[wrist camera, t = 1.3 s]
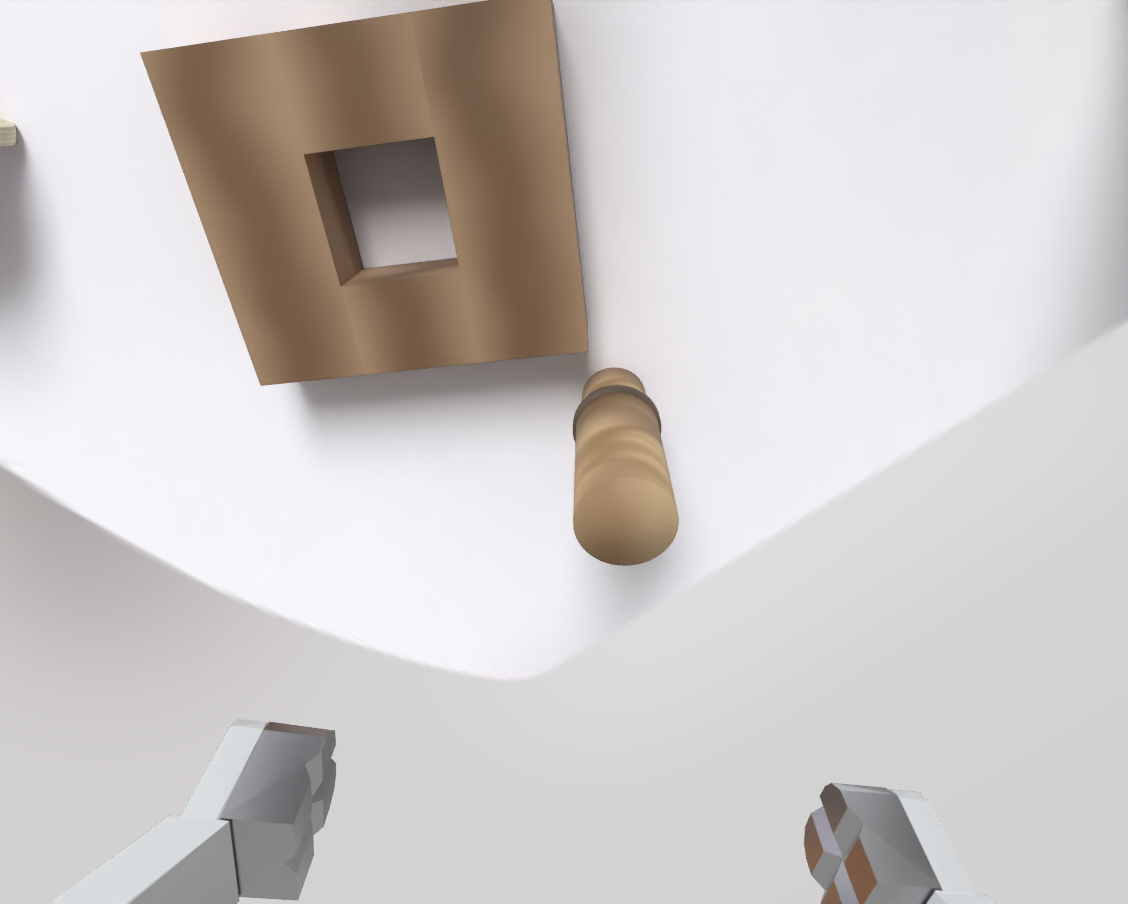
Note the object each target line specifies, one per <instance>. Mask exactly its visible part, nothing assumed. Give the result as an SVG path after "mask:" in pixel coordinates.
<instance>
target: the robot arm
mask: <svg viewBox="0 0 1128 904" xmlns="http://www.w3.org/2000/svg"><path fill="white" fill-rule="evenodd" d="M335 745H336V739H335V731H334V730H327V729H319V728H312V727H305V726H297V725H290V724H282V723H275V722H268V721H259V720H250V719H241V718H237V719H236V720H235V722H234V723H233V724H232V725H231V726H230V727H229V728H228V730H227V732H226V734H225V735H224V737H223V739H222V741H221V742H220V744H219V746H218V748H217V750H216V751H215V753H214V755H213V757H212V759H211V761H210V762H209V764H208V766H207V768H206V770H205V771H204V773H203V775H202V777H201V779H200V780H199V782H198V784H197V786H196V788H195V790H194V791H193V793H192V795H191V797H190V799H189V800H188V802H187V804H186V806H185V808H184V810H183V811H182V813H181V815H180V816H179V815H169V816H168V817H166V818H165V819H164V820H162V821H161V822H160V823H158V824H157V825H156V826H154V827H153V828H152V829H150V830H149V831H147V832H146V833H145V834H143V835H142V836H140V837H139V838H138V839H136V840H135V841H134V842H132V843H131V844H130V845H128V846H127V847H125V848H124V849H123V850H121V851H120V852H119V853H118V854H116V855H115V856H113V857H112V858H110V859H109V860H108V861H106V862H105V863H104V864H102V865H101V866H100V867H98V868H97V869H96V870H94V871H93V872H91V873H90V874H89V875H87V876H86V877H85V878H83V879H82V880H80V881H79V882H78V883H76V884H75V885H74V886H72V887H71V888H70V889H68V890H67V891H66V892H64V893H63V894H61V895H60V896H59V897H57V898H56V899H55V900H53V901H52V902H51V903H50V904H237V903H238V902H239V897H250V898H251V897H252V898H267V899H283V900H298V899H299V896H300V893H301V890H302V888H303V885H304V882H305V879H306V876H307V873H308V870H309V867H310V864H311V862H312V859H313V856H314V849H313V848H314V847H313V835H314V834H315V833H317V832H318V831H319V830H320V829H321V828H322V827H323V826H324V824H325V820H326V817H327V814H328V811H329V808H330V804H331V800H332V795H333V791H334V786H335V778H336V763H335V762H334V761H333V760H332V759H331V757H332V754H333V751H334V748H335ZM820 798H821V801H822V804H823V807H821V808H819V809H818V810H816V811H814V812H812V813H811V814H810V817H809V819H808V822H807V824H806V826H805V838H804V847H805V853H806V859H807V863H808V866H809V869H810V872H811V875H812V876H813V877H814V878H815V880H816V881H817V882H818V883H819V884H820V885H821V886H822V887H823V888H824V890H825V892H824V895H823V898H822V901H821V904H995V903H994V902H992V901H991V900H990V899H989V898H988V897H987V896H986V895H980V894H976V892H975V890H974V888H973V886H972V884H971V882H970V880H969V878H968V876H967V875H966V873H965V871H964V869H963V867H962V865H961V863H960V861H959V859H958V857H957V856H956V854H955V852H954V850H953V848H952V846H951V844H950V843H949V840H948V838H947V837H946V835H945V833H944V831H943V829H942V827H941V825H940V823H939V821H938V819H937V817H936V816H935V814H934V812H933V810H932V808H931V806H930V804H929V802H928V801H927V799H926V798H925V797H924V796H923V795H922V794H921V793H919V792H914V791H903V790H893V789H887V788H881V787H871V786H860V785H849V784H838V783H830V784H829V785H827V786H825V787H824V789H823V791H822V793H821V795H820Z"/></svg>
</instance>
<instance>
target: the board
mask: <svg viewBox="0 0 1128 904" xmlns="http://www.w3.org/2000/svg"><path fill="white" fill-rule="evenodd" d="M140 54H141V57H142V59H143V62H144V65H145V68H146V70H147V73H148V76H149V79H150V81H151V84H152V87H153V90H154V92H155V95H156V98H157V101H158V103H159V106H160V109H161V112H162V115H163V117H164V120H165V123H166V126H167V128H168V131H169V134H170V137H171V139H172V142H173V145H174V148H175V150H176V153H177V156H178V159H179V161H180V164H181V167H182V170H183V173H184V175H185V178H186V181H187V184H188V186H189V189H190V192H191V195H192V197H193V200H194V203H195V206H196V208H197V211H198V214H199V217H200V219H201V222H202V225H203V228H204V230H205V233H206V236H207V239H208V242H209V244H210V247H211V250H212V253H213V255H214V258H215V261H216V264H217V266H218V269H219V272H220V275H221V277H222V280H223V283H224V286H225V288H226V291H227V294H228V297H229V299H230V302H231V305H232V308H233V311H234V313H235V316H236V319H237V322H238V324H239V327H240V330H241V333H242V335H243V338H244V341H245V344H246V346H247V349H248V352H249V355H250V357H251V360H252V363H253V366H254V368H255V371H256V374H257V377H258V380H259V382H260V385H261V386H263V385H273V384H282V383H292V382H301V381H311V380H320V379H330V378H339V377H349V376H358V375H368V374H377V373H387V372H396V371H406V370H415V369H425V368H434V367H444V366H453V365H463V364H472V363H482V362H492V361H501V360H511V359H520V358H530V357H539V356H549V355H558V354H568V353H577V352H587V351H588V326H587V316H586V307H585V298H584V288H583V279H582V270H581V260H580V251H579V242H578V232H577V223H576V214H575V204H574V195H573V185H572V176H571V167H570V157H569V148H568V139H567V129H566V120H565V111H564V101H563V92H562V83H561V73H560V64H559V55H558V45H557V36H556V27H555V17H554V8H553V2H552V0H488V1H481V2H475V3H468V4H461V5H455V6H448V7H441V8H435V9H428V10H421V11H415V12H408V13H401V14H395V15H388V16H382V17H375V18H368V19H362V20H355V21H348V22H342V23H335V24H328V25H322V26H315V27H308V28H302V29H295V30H288V31H282V32H275V33H268V34H262V35H255V36H248V37H242V38H235V39H228V40H222V41H215V42H208V43H202V44H195V45H188V46H182V47H175V48H169V49H162V50H155V51H149V52H142V53H140ZM429 137H434V139H435V144H436V149H437V155H438V160H439V165H440V170H441V175H442V181H443V186H444V191H445V196H446V201H447V207H448V212H449V217H450V222H451V227H452V232H453V238H454V243H455V248H456V253H457V258H452V259H443V260H435V261H426V262H418V263H410V264H401V265H393V266H384V267H376V268H367V269H363V265H362V261H361V258H360V254H359V250H358V246H357V242H356V238H355V234H354V231H353V227H352V223H351V219H350V215H349V211H348V208H347V204H346V200H345V196H344V192H343V188H342V185H341V181H340V177H339V173H338V169H337V165H336V161H335V158H334V154H333V150H340V149H347V148H354V147H362V146H369V145H377V144H384V143H392V142H399V141H407V140H414V139H422V138H429Z"/></svg>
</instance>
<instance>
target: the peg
mask: <svg viewBox="0 0 1128 904" xmlns="http://www.w3.org/2000/svg"><path fill="white" fill-rule="evenodd" d="M573 436H574V440H575V479H574V515H573V526H574V532H575V535H576V538H577V540H578V542H579V543H580V545H581V546H582V547H583V549H584V550H585V551H586V552H588V553H589V554H590V555H591V556H593V557H595V558H596V559H598V560H600V561H603V562H606V563H609V564H614V565H636V564H640V563H644V562H647V561H649V560H651V559H653V558H655V557H657V556H658V555H660V554H661V553H662V552H664V551H665V550H666V549H667V548H668V547H669V545H670V544H671V543H672V541H673V539H674V538H675V535H676V533H677V529H678V520H679V519H678V512H677V508H676V503H675V499H674V494H673V490H672V485H671V481H670V476H669V471H668V467H667V462H666V458H665V453H664V449H663V444H662V440H661V421H660V416H659V413H658V410H657V408H656V406H655V404H654V403H653V402H652V400H651V399H650V398H649V397H648V396H647V395H646V394H645V389H644V386H643V384H642V382H641V381H640V379H639V378H638V377H637V376H636V375H635V374H633V373H632V372H630V371H628V370H625V369H622V368H607V369H604V370H601V371H599V372H597V373H595V374H594V375H593V376H592V377H591V378H590V379H589V380H588V381H587V383H586V385H585V387H584V390H583V395H582V402H581V403H580V405H579V406H578V408H577V410H576V412H575V415H574V419H573Z"/></svg>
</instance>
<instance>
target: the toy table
mask: <svg viewBox="0 0 1128 904" xmlns="http://www.w3.org/2000/svg"><path fill="white" fill-rule="evenodd" d="M15 144H16V126H15V125H14V124H13V123H11V122H8V121H6V120H3V119H1V118H0V146H13V145H15Z"/></svg>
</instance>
